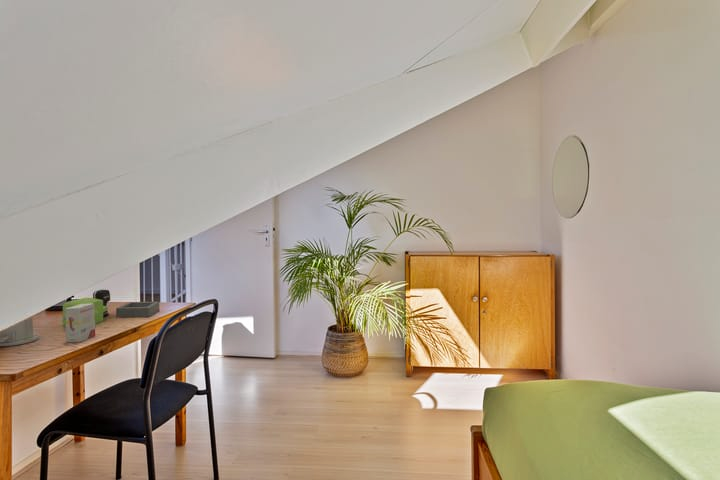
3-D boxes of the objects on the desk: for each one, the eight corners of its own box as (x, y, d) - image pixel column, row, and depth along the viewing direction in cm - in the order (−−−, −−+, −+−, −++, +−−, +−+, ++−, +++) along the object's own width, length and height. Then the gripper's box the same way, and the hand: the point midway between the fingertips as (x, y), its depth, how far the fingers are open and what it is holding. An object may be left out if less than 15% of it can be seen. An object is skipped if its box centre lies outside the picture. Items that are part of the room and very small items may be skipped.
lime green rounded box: (73, 333, 150) (73, 308, 150) (51, 329, 152) (51, 305, 151) (112, 320, 168) (112, 297, 167) (92, 317, 170) (92, 295, 169)
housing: (148, 317, 173) (148, 307, 173) (116, 317, 171) (116, 308, 171) (159, 310, 186) (159, 301, 186) (129, 310, 184) (129, 302, 184)
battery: (101, 318, 169) (101, 291, 169) (92, 318, 169) (92, 291, 169) (111, 314, 176) (111, 288, 176) (102, 314, 176) (102, 288, 176)
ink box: (82, 335, 146) (81, 302, 145) (96, 335, 146) (95, 303, 145) (65, 342, 137) (64, 308, 137) (79, 342, 137) (78, 308, 137)
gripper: (69, 219, 168) (70, 260, 169) (114, 220, 171) (115, 260, 172) (78, 219, 176) (79, 258, 177) (121, 220, 179) (122, 258, 179)
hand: (97, 259), depth 174 cm, fingers open, 9 cm apart
